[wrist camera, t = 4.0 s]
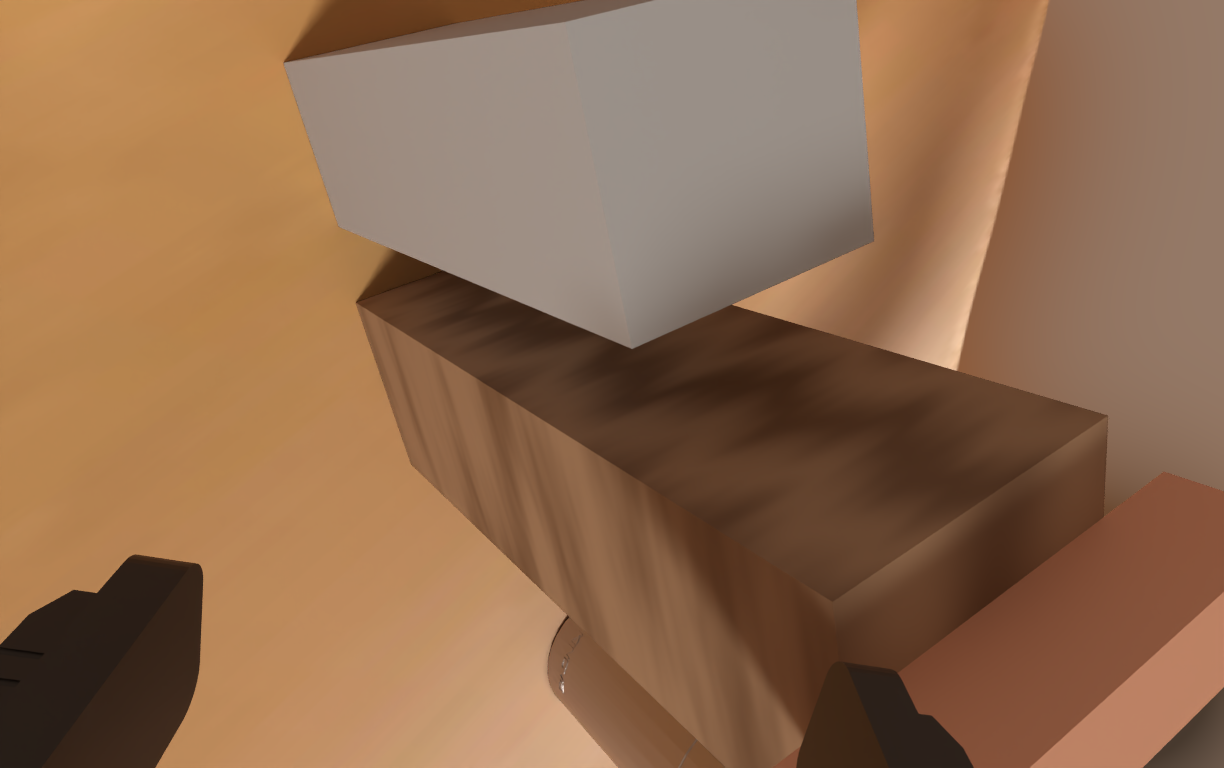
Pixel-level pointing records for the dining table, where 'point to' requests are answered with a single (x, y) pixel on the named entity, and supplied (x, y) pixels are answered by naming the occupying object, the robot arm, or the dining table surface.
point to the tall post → (733, 491)
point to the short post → (604, 152)
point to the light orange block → (1090, 643)
